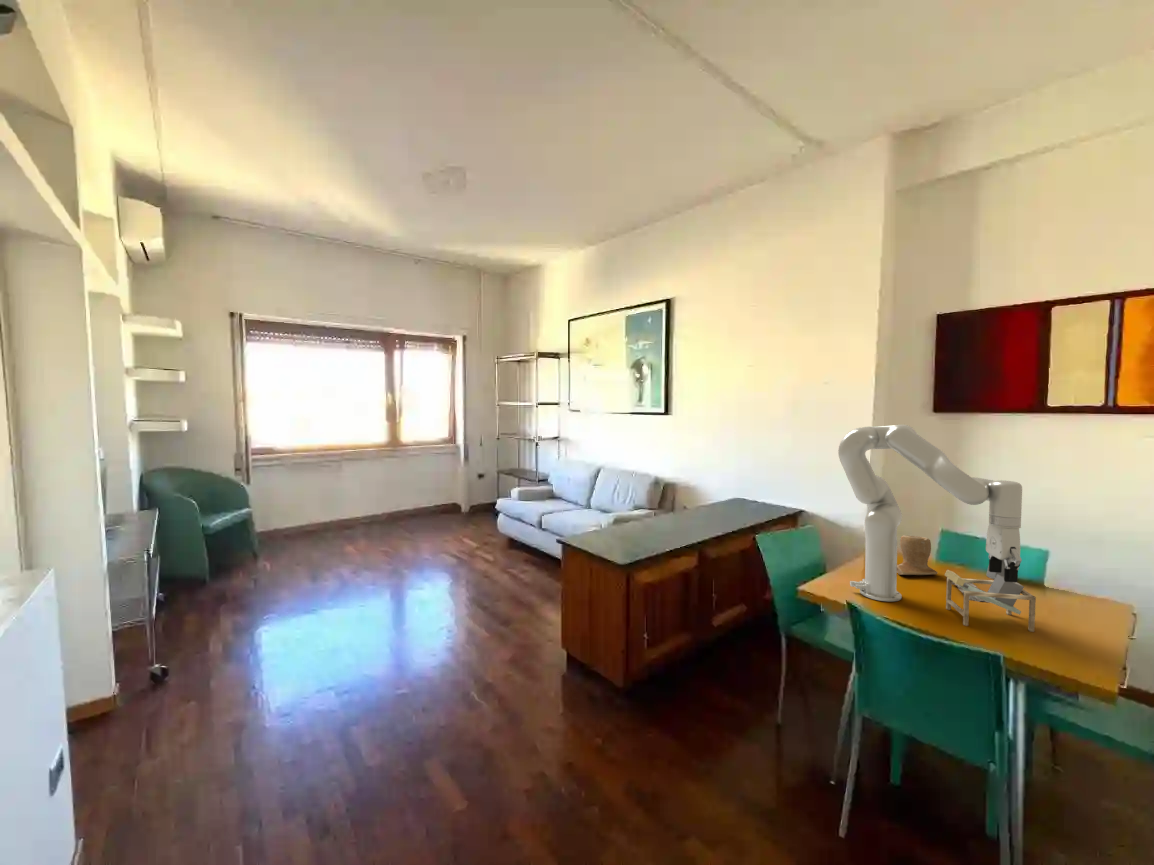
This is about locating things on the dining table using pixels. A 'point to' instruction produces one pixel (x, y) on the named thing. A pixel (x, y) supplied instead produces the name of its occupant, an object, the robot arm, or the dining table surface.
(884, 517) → the robot arm
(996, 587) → the granite block
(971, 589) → the trapdoor
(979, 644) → the dining table surface
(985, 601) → the stone fragment
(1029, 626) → the trapdoor frame
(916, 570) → the stone cup
